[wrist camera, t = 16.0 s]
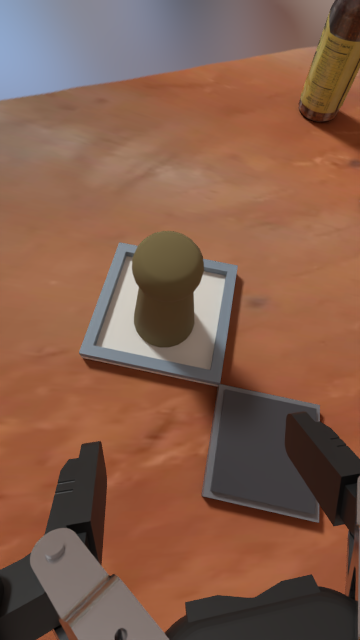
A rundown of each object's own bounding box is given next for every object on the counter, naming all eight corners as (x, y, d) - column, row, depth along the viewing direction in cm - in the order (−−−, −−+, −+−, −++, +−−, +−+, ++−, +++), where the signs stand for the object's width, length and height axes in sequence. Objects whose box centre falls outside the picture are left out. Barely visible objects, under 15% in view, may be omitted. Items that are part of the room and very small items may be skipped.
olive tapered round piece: (207, 319, 32) (231, 254, 22) (164, 360, 30) (169, 309, 20) (164, 281, 33) (168, 203, 23) (120, 318, 31) (104, 250, 21)
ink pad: (201, 495, 26) (203, 496, 24) (217, 386, 29) (220, 382, 28) (313, 521, 25) (322, 523, 24) (314, 407, 29) (322, 404, 28)
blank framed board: (82, 357, 30) (78, 353, 29) (120, 250, 36) (119, 242, 35) (217, 386, 29) (220, 383, 28) (235, 272, 35) (237, 265, 34)
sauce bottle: (318, 96, 51) (402, -108, 33) (344, 118, 49) (450, -88, 31) (286, 106, 49) (356, -103, 31) (312, 129, 47) (404, -81, 29)
